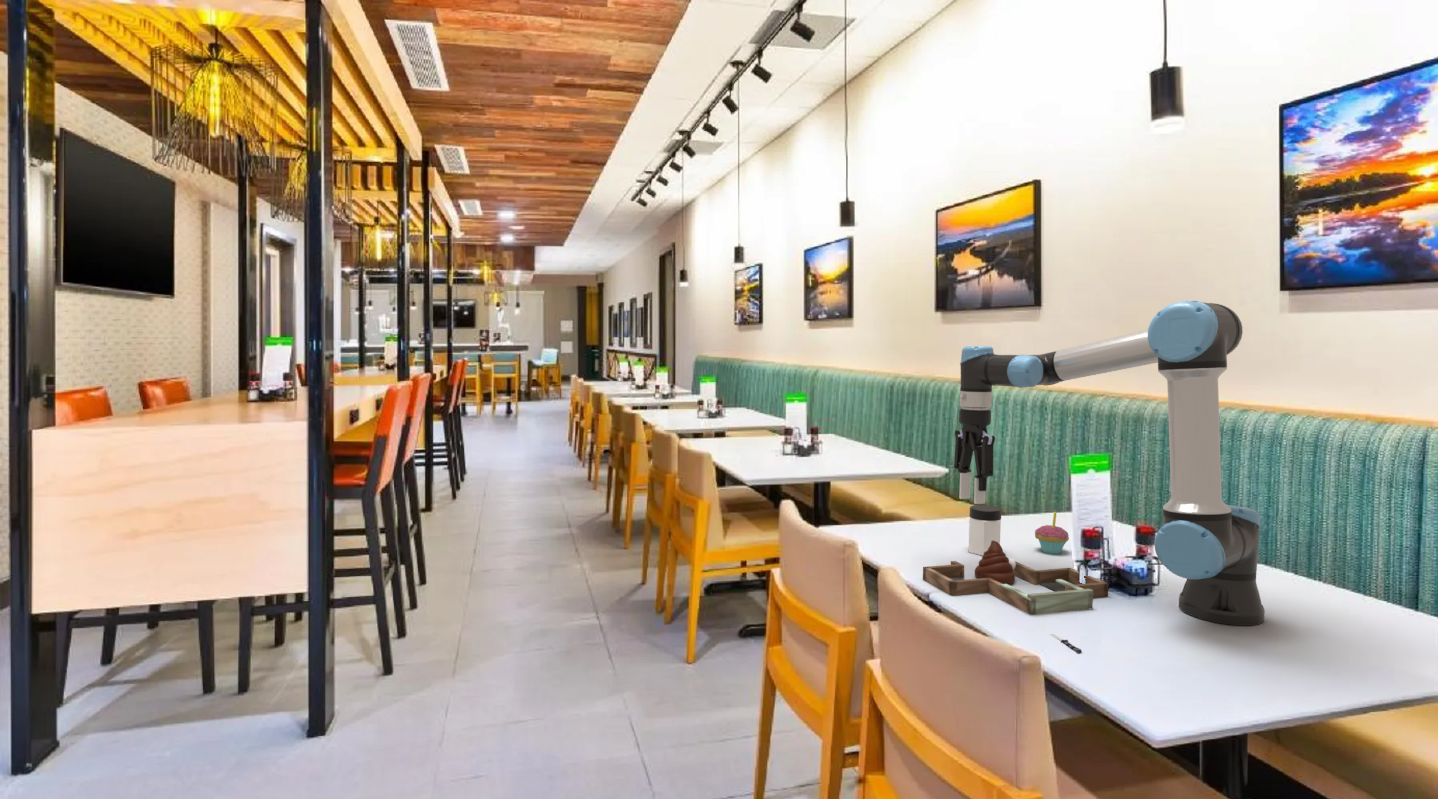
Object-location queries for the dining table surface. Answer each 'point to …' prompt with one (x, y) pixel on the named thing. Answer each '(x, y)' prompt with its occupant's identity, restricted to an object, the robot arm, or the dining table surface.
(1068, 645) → the knife
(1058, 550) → the cupcake
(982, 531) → the jar
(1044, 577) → the box
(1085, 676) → the dining table surface
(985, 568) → the poop emoji
